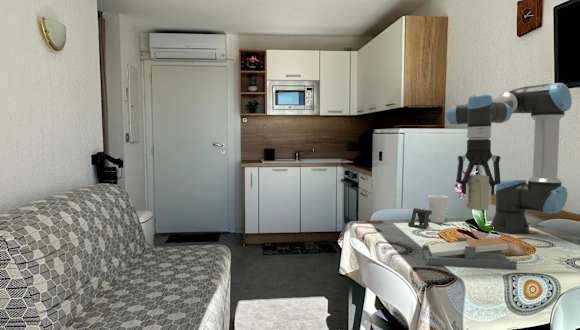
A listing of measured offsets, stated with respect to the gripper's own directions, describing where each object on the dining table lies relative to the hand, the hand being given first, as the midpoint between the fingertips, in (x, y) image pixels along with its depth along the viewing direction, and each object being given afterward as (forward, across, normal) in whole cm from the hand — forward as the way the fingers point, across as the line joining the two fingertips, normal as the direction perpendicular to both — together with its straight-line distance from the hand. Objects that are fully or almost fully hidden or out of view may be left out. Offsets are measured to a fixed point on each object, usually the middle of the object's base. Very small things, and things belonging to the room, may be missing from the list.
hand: (477, 203), depth 132 cm
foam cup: (+19, -6, +57) cm, 60 cm away
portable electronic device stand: (+19, -15, +43) cm, 50 cm away
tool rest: (+19, +13, +10) cm, 25 cm away
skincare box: (+2, 0, 0) cm, 2 cm away
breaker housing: (+19, -4, -5) cm, 20 cm away
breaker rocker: (+15, -4, -5) cm, 16 cm away
